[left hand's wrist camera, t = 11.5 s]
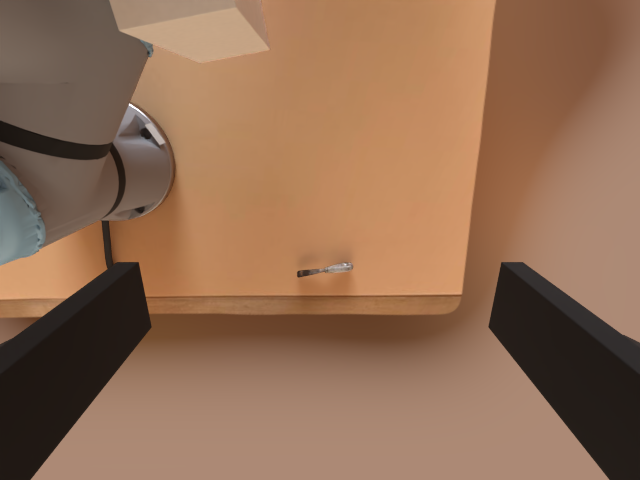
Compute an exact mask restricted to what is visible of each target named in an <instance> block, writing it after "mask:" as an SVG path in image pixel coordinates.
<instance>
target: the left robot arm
mask: <svg viewBox="0 0 640 480" xmlns="http://www.w3.org/2000/svg"><path fill="white" fill-rule="evenodd" d="M152 45H153V44H151V43H148V42H146V41H143V40H141V39H138V38H136V37H133V36H131V35H128V34H126V33H123V32H121V31H119V29H118V26H117V23H116V20H115V17H114V14H113V11H112V7H111V4H110V1H109V0H0V265H3V264H5V263H8V262H11V261H13V260H16V259H19V258H24V257H29V256H31V255H33V254H35V253H36V252H38V251H39V249H42V248H43V247H45V246H47V245H49V244H51V243H53V242H55V241H57V240H59V239H61V238H63V237H66V236H68V235H70V234H72V233H74V232H76V231H78V230H80V229H82V228H84V227H86V226H88V225H90V224H92V223H94V222H96V221H98V220H102V230H103V239H104V250H105V259H106V265H107V268H108V269H107V270H106V271H105V272H103V273H102V274H101V275H99V276H98V277H96V278H95V279H94V280H92V281H91V282H90V283H88V284H87V285H85V286H84V287H83V288H81V289H80V290H79V291H77V292H76V293H74V294H73V295H72V296H70V297H69V298H68V299H66V300H65V301H63V302H62V303H61V304H59V305H58V306H57V307H55V308H54V309H52V310H51V311H50V312H48V313H47V314H46V315H44V316H43V317H41V318H40V319H39V320H37V321H36V322H35V323H33V324H32V325H30V326H29V327H28V328H26V329H25V330H24V331H22V332H21V333H19V334H18V335H17V336H15V337H14V338H12V339H10V340H8V341H6V342H4V343H2V344H0V480H31V478H32V477H33V476H34V475H35V473H36V472H37V471H38V469H39V468H40V467H41V466H42V464H43V463H44V462H45V461H46V459H47V458H48V457H49V456H50V454H51V453H52V452H53V451H54V449H55V448H56V447H57V446H58V444H59V443H60V442H61V440H62V439H63V438H64V437H65V435H66V434H67V433H68V432H69V430H70V429H71V428H72V427H73V425H74V424H75V423H76V422H77V420H78V419H79V418H80V417H81V415H82V414H83V413H84V412H85V410H86V409H87V408H88V406H89V405H90V404H91V403H92V401H93V400H94V399H95V398H96V396H97V395H98V394H99V393H100V391H101V390H102V389H103V388H104V386H105V385H106V384H107V383H108V381H109V380H110V379H111V378H112V376H113V375H114V374H115V372H116V371H117V370H118V369H119V367H120V366H121V365H122V364H123V362H124V361H125V360H126V359H127V357H128V356H129V355H130V354H131V352H132V351H133V350H134V349H135V347H136V346H137V345H138V343H139V342H140V341H141V340H142V338H143V337H144V336H145V335H146V333H147V332H148V331H149V330H150V328H151V322H150V317H149V312H148V307H147V302H146V297H145V292H144V287H143V282H142V277H141V272H140V267H139V262H117V263H116V264H114V265H113V261H112V253H111V240H110V230H109V221H122V220H129V219H134V218H137V217H140V216H143V215H145V214H147V213H149V212H150V211H152V210H154V209H155V208H157V207H158V206H159V205H160V204H161V203H162V202H163V201H164V200H165V199H166V197H167V196H168V194H169V192H170V190H171V188H172V185H173V182H174V177H175V161H174V155H173V151H172V148H171V145H170V143H169V140H168V138H167V136H166V135H165V133H164V131H163V130H162V128H161V127H160V126H159V124H158V123H157V122H156V121H155V120H154V119H153V118H152V117H151V116H150V115H149V114H148V113H147V112H145V111H144V110H143V109H141V108H140V107H138V106H137V105H135V104H133V103H131V102H130V100H131V98H132V95H133V93H134V91H135V88H136V86H137V83H138V81H139V78H140V76H141V73H142V71H143V68H144V66H145V64H146V61H147V59H148V57H151V56H152V54H153V47H152ZM489 328H490V330H491V331H492V332H493V333H494V335H495V336H496V337H497V338H498V340H499V341H500V342H501V343H502V345H503V346H504V347H505V349H506V350H507V351H508V352H509V353H510V355H511V356H512V357H513V359H514V360H515V361H516V362H517V364H518V365H519V366H520V367H521V369H522V370H523V371H524V372H525V374H526V375H527V376H528V378H529V379H530V380H531V381H532V383H533V384H534V385H535V386H536V388H537V389H538V390H539V391H540V393H541V394H542V395H543V396H544V398H545V399H546V400H547V401H548V403H549V404H550V405H551V406H552V408H553V409H554V410H555V412H556V413H557V414H558V415H559V417H560V418H561V419H562V420H563V422H564V423H565V424H566V425H567V427H568V428H569V429H570V430H571V432H572V433H573V434H574V435H575V437H576V438H577V439H578V440H579V442H580V443H581V444H582V446H583V447H584V448H585V449H586V451H587V452H588V453H589V454H590V456H591V457H592V458H593V459H594V461H595V462H596V463H597V464H598V466H599V467H600V468H601V469H602V471H603V472H604V473H605V475H606V476H607V477H608V478H609V480H640V343H639V342H637V341H635V340H633V339H631V338H629V337H627V336H625V335H622V334H620V333H619V332H618V331H616V330H615V329H614V328H612V327H611V326H610V325H608V324H607V323H605V322H604V321H603V320H601V319H600V318H599V317H597V316H596V315H594V314H593V313H592V312H590V311H589V310H588V309H586V308H585V307H583V306H582V305H581V304H579V303H578V302H577V301H575V300H574V299H572V298H571V297H570V296H568V295H567V294H566V293H564V292H563V291H561V290H560V289H559V288H557V287H556V286H555V285H553V284H552V283H550V282H549V281H548V280H546V279H545V278H544V277H542V276H541V275H539V274H538V273H537V272H535V271H534V270H533V269H531V268H530V267H528V266H527V265H526V264H524V263H523V262H502V263H501V267H500V272H499V277H498V282H497V287H496V292H495V297H494V302H493V307H492V312H491V317H490V322H489Z"/></svg>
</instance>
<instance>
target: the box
mask: <svg viewBox="0 0 640 480" xmlns="http://www.w3.org/2000/svg"><path fill="white" fill-rule="evenodd" d="M109 1H110V4H111V7H112V11H113V14H114V17H115V20H116V23H117V26H118V29H119V31H121V32H123V33H126V34H128V35H131V36H133V37H136V38H138V39H141V40H143V41H146V42H148V43H151V44H153V45H156V46H158V47H161V48H163V49H165V50H168V51H170V52H173V53H175V54H178V55H180V56H183V57H185V58H188V59H190V60H193V61H195V62H198V63H204V62H210V61H215V60H220V59H225V58H231V57H236V56H241V55H247V54H252V53H257V52H262V51H268V50H270V45H269V39H268V34H267V29H266V24H265V18H264V13H263V8H262V3H261V0H109Z"/></svg>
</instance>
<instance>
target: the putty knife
mask: <svg viewBox="0 0 640 480" xmlns="http://www.w3.org/2000/svg"><path fill="white" fill-rule="evenodd" d="M352 269H353V264H352V263H340V264H336V265H332V266H329V267H325V269H312V270H302V271H298V272H297V276H298V277H303V276H308V275H312V274H317V273H321V272H325V273H339V272H348V271H351V270H352Z"/></svg>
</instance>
